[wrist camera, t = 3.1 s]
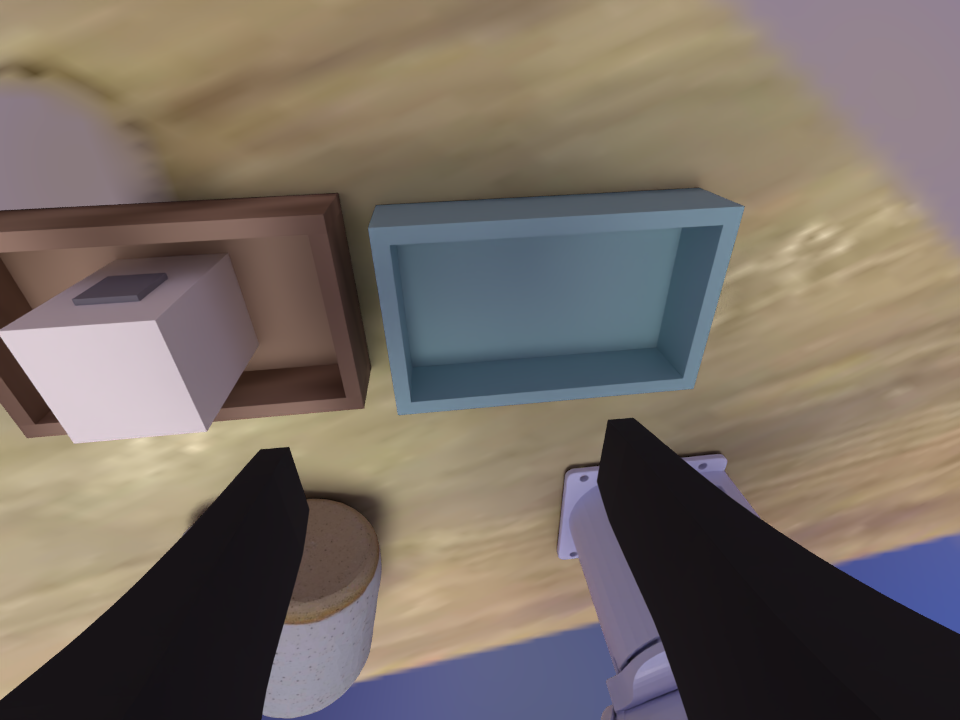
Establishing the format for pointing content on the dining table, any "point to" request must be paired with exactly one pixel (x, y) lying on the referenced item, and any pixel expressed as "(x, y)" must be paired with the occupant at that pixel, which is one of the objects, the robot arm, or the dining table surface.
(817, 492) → the dining table surface
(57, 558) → the dining table surface
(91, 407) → the letter block
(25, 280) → the walnut tray
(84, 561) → the dining table surface
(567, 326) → the teal tray
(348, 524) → the ceramic mug
